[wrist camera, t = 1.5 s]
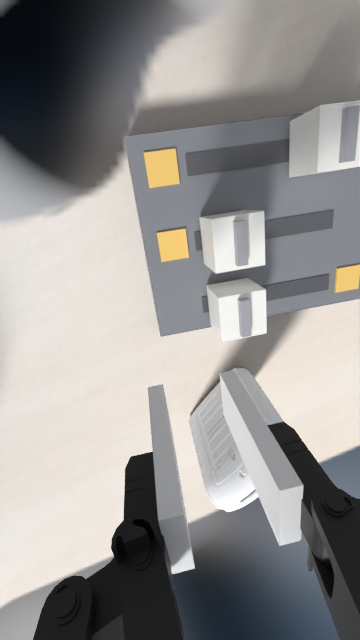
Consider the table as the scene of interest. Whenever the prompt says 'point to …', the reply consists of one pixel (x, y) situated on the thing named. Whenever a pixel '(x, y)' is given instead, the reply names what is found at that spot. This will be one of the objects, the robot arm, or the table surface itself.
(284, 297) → the console
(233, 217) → the slider mid
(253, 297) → the slider
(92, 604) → the robot arm
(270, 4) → the table surface
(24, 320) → the table surface
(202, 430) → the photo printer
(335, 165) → the slider
